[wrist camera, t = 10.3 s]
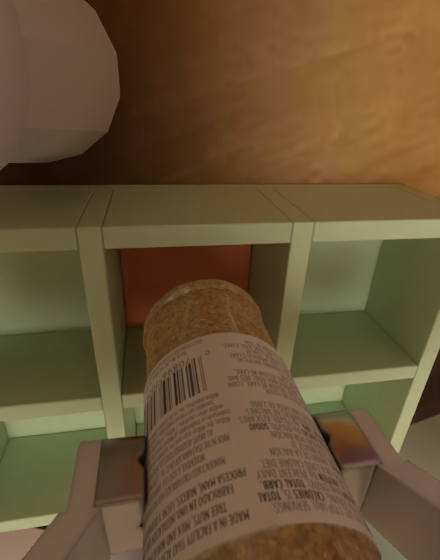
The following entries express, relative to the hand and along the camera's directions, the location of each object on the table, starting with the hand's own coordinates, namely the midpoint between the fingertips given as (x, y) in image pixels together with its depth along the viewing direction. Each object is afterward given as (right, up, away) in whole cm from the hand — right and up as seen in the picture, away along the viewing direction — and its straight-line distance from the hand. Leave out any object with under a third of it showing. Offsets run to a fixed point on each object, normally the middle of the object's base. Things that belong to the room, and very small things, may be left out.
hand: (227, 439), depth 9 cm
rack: (-2, +2, +11) cm, 12 cm away
